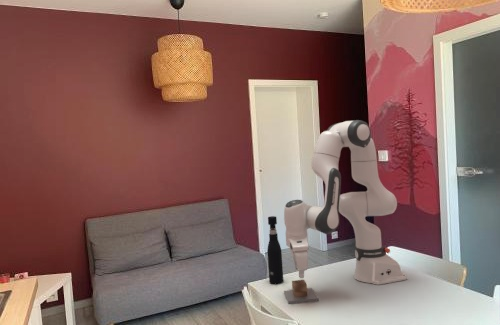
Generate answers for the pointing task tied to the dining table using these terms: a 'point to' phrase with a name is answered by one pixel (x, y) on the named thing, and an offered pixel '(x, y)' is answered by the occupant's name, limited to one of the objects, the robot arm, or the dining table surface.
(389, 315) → the dining table surface
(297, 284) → the walnut block
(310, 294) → the slate board
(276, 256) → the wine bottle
